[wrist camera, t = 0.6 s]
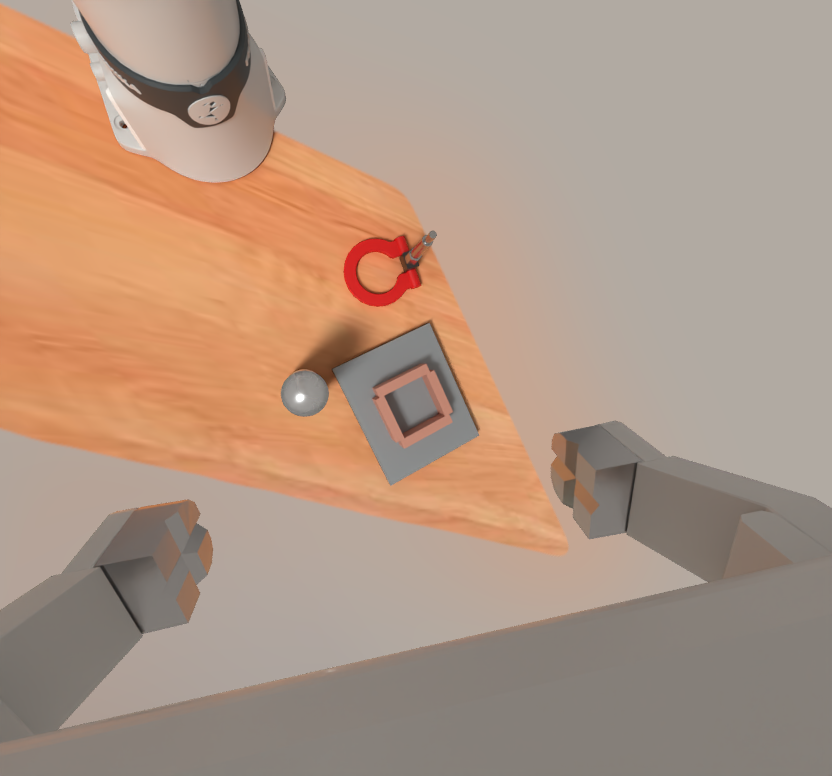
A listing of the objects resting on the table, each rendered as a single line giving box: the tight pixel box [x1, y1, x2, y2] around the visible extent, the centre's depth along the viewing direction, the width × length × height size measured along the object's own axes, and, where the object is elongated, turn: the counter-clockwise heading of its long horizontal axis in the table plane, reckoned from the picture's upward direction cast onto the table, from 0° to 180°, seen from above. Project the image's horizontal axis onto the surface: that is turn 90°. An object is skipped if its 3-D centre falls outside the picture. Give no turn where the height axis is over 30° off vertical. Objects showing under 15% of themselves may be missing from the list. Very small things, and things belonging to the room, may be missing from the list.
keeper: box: [332, 323, 479, 485], centre depth 52 cm, size 17×14×4 cm
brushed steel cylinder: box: [281, 369, 329, 416], centre depth 44 cm, size 4×4×12 cm
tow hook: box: [344, 231, 437, 307], centre depth 45 cm, size 8×13×9 cm
